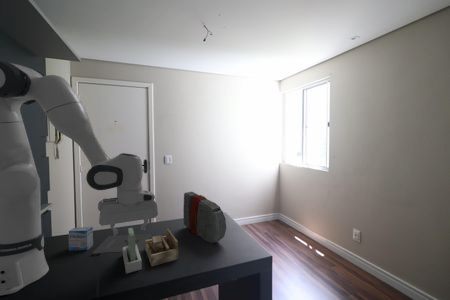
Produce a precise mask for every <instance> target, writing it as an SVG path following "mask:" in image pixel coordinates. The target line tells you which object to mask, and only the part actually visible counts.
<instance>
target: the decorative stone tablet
mask: <svg viewBox="0 0 450 300" xmlns="http://www.w3.org/2000/svg"><path fill="white" fill-rule="evenodd" d="M182 209H183V225H184V226H185V227H186V228H188V229H189V230H190V232H191V234H193V235H194V236H198V237H200V238H201V239H202V240H204V241H206V242H207V243H210V244H215V243H217V242H219V241H221V240H222V239H223V238H225V234H226V232H227V222H226V221H227V220H226V216H225V213H224V211H223V210H222V209H221V207H220V205H218V204H217V203H216V202H214V201H212V200H209V199H207V198H206V197H205V196H204V195H201V194H197V193H195V192H193V191H187V192H184V193H183V208H182Z"/></svg>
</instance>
